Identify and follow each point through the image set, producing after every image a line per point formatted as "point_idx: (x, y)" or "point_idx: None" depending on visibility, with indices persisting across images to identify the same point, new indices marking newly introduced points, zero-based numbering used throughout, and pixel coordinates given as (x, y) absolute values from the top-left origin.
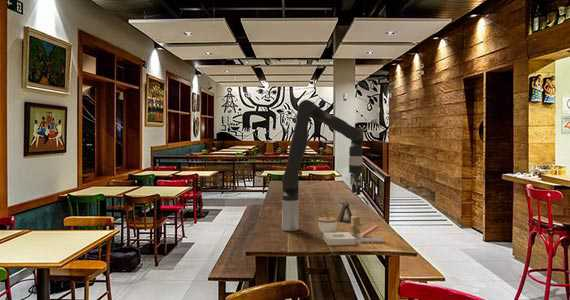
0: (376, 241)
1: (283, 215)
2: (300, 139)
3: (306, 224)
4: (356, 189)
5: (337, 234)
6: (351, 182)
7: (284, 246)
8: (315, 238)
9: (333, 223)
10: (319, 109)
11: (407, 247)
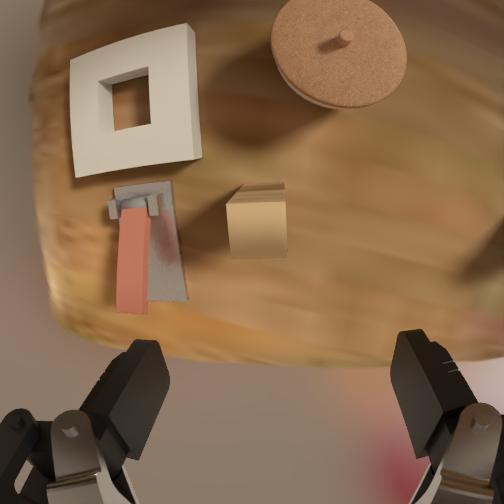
0: None
1: None
2: None
3: (486, 31)
4: (98, 395)
5: (149, 94)
6: (443, 491)
7: None
8: (199, 3)
9: (281, 73)
10: None
11: (88, 338)
